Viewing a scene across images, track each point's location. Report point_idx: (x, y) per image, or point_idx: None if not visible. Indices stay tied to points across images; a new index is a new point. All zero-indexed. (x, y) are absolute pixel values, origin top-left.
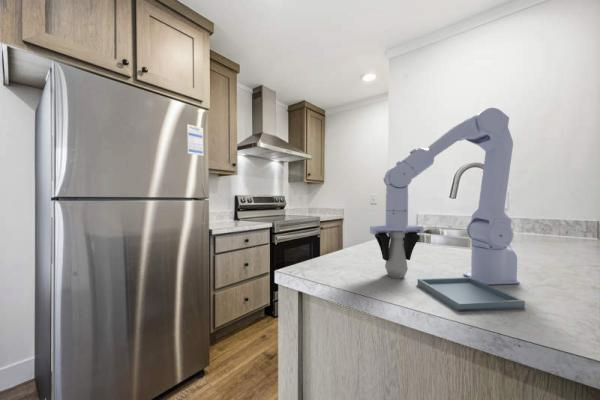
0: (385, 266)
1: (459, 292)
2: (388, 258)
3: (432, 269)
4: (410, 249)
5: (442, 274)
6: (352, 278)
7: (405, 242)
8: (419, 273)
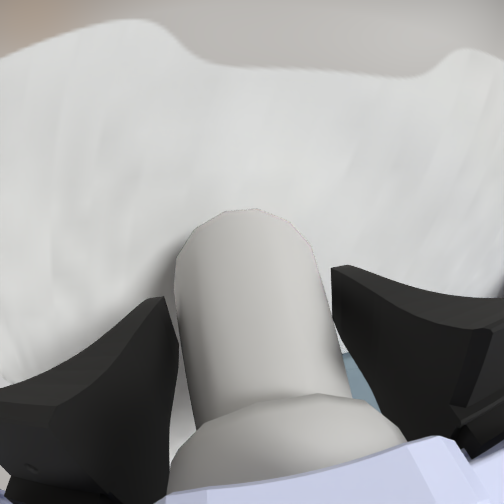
0: (174, 278)
1: (381, 413)
2: (178, 358)
3: (473, 142)
4: (373, 382)
5: (471, 219)
6: (27, 304)
7: (399, 356)
8: (391, 205)
